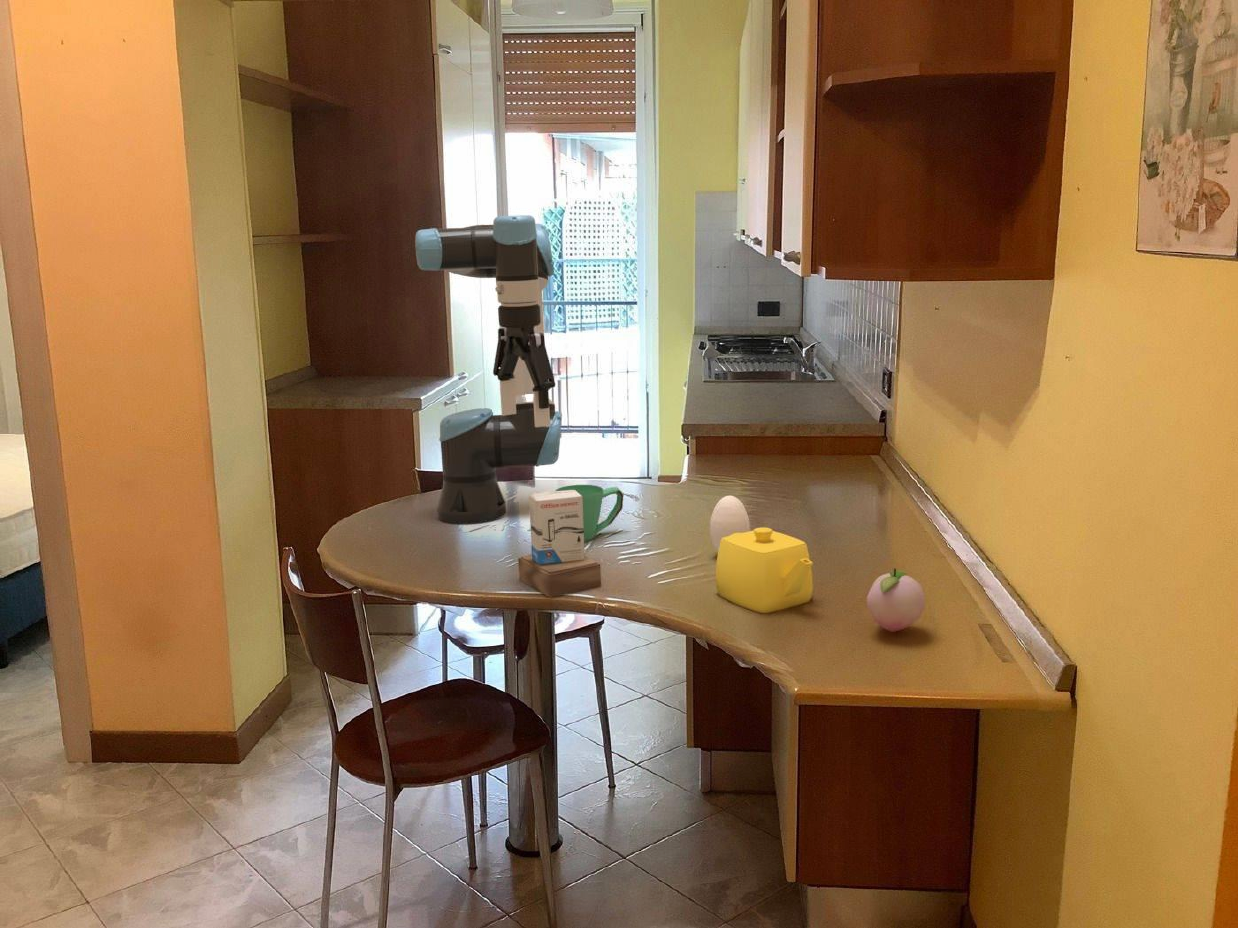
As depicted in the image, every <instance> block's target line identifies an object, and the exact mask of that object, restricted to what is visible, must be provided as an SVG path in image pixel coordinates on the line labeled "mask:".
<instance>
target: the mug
mask: <svg viewBox="0 0 1238 928" xmlns="http://www.w3.org/2000/svg"><path fill="white" fill-rule="evenodd" d="M565 490H575V491H577V492H578V493H579V494H580V495H581V496H582V501H583V527H584V528H583V529H584V542H587V541H590V540H593V538H594V536H595V535H596V534H597V533H600V532H601V531H602V530H604V529H605V528H607V527H609V526H610V525H612V523H614V522H613V521H615V519H616V518H617V516H618V515H619V514H620V513H621V511H622V510H623V507H624V506H623V505H624V503H623V502H624V492H623V490H620V489H619V487H618V486H613V487H607V488H605V489H604V488H603V487H601V486H598V485H593V484H572V485H570V484H569V485H566V486H562V487H557V488H556V489H555V490H554V491H565ZM611 495H616V502H615V504H614V507H613V508H612V509H611V511H610V512H609V514H608V515H607V517H606V518H605V520H602V521H601V522H600V523H599V520H600V516H601V510H602V504H603V499H604V498H606V497H608V496H611Z"/></svg>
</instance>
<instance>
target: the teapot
mask: <svg viewBox="0 0 1238 928" xmlns="http://www.w3.org/2000/svg"><path fill="white" fill-rule="evenodd" d="M813 564H814V562H813V561H811V559H810V553H809V550H808V545H807V543H806V542H805V541H803V540H801V539H798V538H796V537H793V536H790V535H788V534H784V533H782V532H778V531H774V530H773V529H772V528H770V527H756V528H754V529H753V530H750V531H749V532H744V533H734V534H732V535H730V536H727V537H723V538H722V539H721V542H720V546H719V551H718V550H717V559H716V564H715V565H716V566H715V586H716V591H717V593H718V595H719V596H720V597H721V598H723V599H725V600H728V601H729V602H731V603H733V604H735V605H737V606H739V607H742V608H745V609H748V610H750V611H753V612H756V613H760V614H768V613H769V614H771V613H773V612H778V611H781V610H786V609H790V608H792V607H796V606H799V605H802V604H805V603H808V602H810V600H811V598H812V595H813V587H814V586H813V582H814V580H813V573H812V572H813V570H812V567H813Z"/></svg>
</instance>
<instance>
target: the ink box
mask: <svg viewBox="0 0 1238 928" xmlns="http://www.w3.org/2000/svg"><path fill="white" fill-rule="evenodd" d="M528 502H529V503H528V505H529V526H530V541H531V542H530V545H531V554H532V559H533V560H534V561H535V562H536V563H537V564H539V565H546V564H554V563H562V562H570V561H578V560H584V556H585V541H584V529H583V528H584V527H583V501H582V496H581V495H580V494H579V493H578V492H577V491H575V490H565V491H555V490H554V491H547V492H545V491H543V492H535V493H532V494H529V496H528Z"/></svg>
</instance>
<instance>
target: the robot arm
mask: <svg viewBox="0 0 1238 928" xmlns="http://www.w3.org/2000/svg"><path fill="white" fill-rule="evenodd" d="M414 238H415V239H414V240H415V241H414V242H415V243H414V244H415V256H416V257H415V258H416V262H417V266H418V268H419V269H420V270H422V271H432V272H435V271H436V272H437V271H447V272H449V273H451V274H454V275H458V276H459V275H460V276H463V277H470V278H476V279H494V278H495V288H494V289H495V292H496V293H497V302H498V303H499V304H501V305H499V306H498V307H497V311H498V312H497V313H498V325H499V327H501V328H498V329H497V339H498V340H497V345H496V352H495V357H494V364H493V370H492V373H493V376H497V380H498V381H499V391H500V392H499V393H500V408H501V414H494V412H493V410H492V409H491V408H489V407H486V408H485V407H484V408H473V409H472V408H471V409H466V410H461V411H458V412H455V413H451V414H449V415H446V416H445V417H444V418H442V419H441V420H440V423H439V441H440V452H441V467H442V468H441V469H442V478H443V480H442V481H443V482H442V489H441V491H440V495H439V500H438V504H437V519H438V520H439V521H442V522H445V523H450V524H462V525H463V524H466V525H467V524H468V525H469V524H479V523H480V524H481V523H486V522H491V521H495V520H499V519H500V518H503V517H504V516H506V515H507V503H506V500H505V498H504V495H503V493H502V492H503V491H502V490H501V487H500V485H499V483H498V479H497V469H502V468H521V467H522V468H523V467H539V466H541V467H542V466H549V465H555V463H556V462H558V460H559V457H560V445H561V444H560V443H561V434H562V433H561V432H562V431H561V430H562V419H563V417H562V416H563V414H562V412H561V411H558V410H556V404H555V402H554V401H552V399H550V395H549V392H550V390H551V389H552V388H555V387H556V381H555V377H554V374H553V369H552V366H551V362H550V359H549V355H548V352H547V347H546V342H545V325H544V324H545V323H544V306H543V304H544V303H543V290H544V289H545V288H546V287H547V286H548V284H549V277H552V276H553V275H554V274H555V267H554V266H555V265H554V260H553V253H552V247H551V243H550V239H549V234H548V230H547V228H546V227H545V226H544V225H543V223H542V224H541V223H536V219H535V217H534V216H532V215H530V214H529V215H527V214H526V215H523V214H522V215H521V214H520V215H502V216H501V215H500V216H496V217H494V219H493V224H476V225H469V226H465V227H454V228H453V227H451V228H449V227H448V228H447V227H446V228H445V227H444V228H436V227H435V228H434V227H431V228H427V229H419V230H418V231H417V232H416V233H415V237H414Z"/></svg>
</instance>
